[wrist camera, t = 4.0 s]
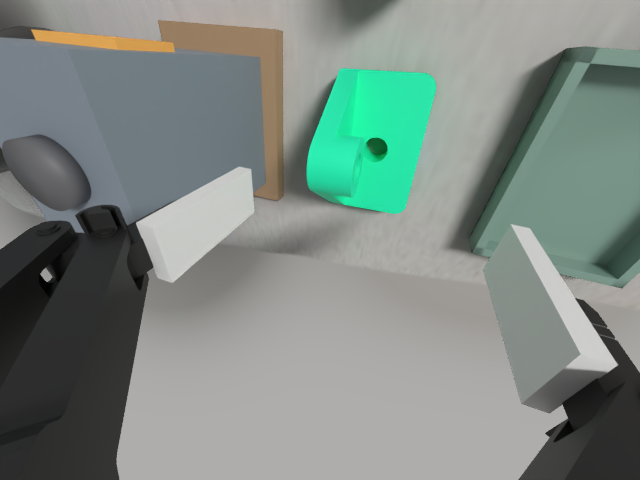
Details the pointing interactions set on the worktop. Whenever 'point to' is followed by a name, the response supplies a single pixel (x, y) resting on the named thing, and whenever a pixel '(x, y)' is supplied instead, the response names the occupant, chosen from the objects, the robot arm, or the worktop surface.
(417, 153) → the camera mount
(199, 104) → the mounted unit
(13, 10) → the worktop surface
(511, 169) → the parts tray
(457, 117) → the worktop surface
